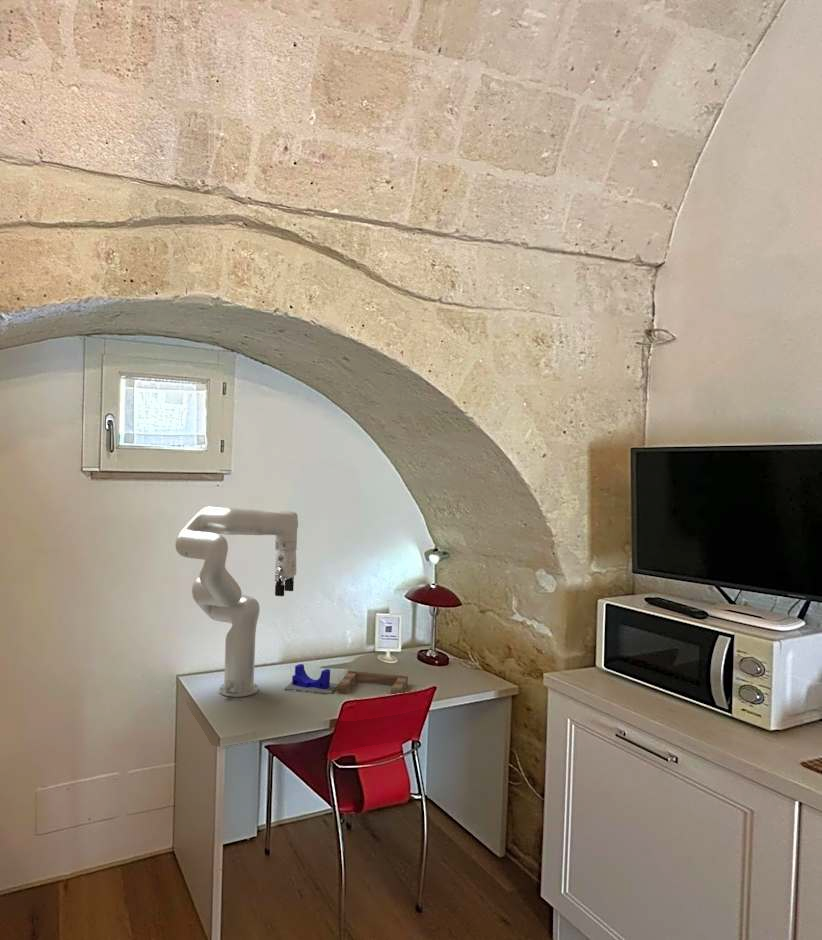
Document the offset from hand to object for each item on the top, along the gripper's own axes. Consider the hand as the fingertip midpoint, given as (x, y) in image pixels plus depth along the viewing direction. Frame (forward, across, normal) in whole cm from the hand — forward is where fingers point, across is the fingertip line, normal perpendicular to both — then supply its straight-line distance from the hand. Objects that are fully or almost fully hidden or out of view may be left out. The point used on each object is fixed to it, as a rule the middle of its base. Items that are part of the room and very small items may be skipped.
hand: (284, 593), depth 262 cm
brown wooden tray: (+28, -9, -36) cm, 47 cm away
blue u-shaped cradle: (+28, -14, -16) cm, 35 cm away
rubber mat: (+28, -14, -16) cm, 35 cm away
